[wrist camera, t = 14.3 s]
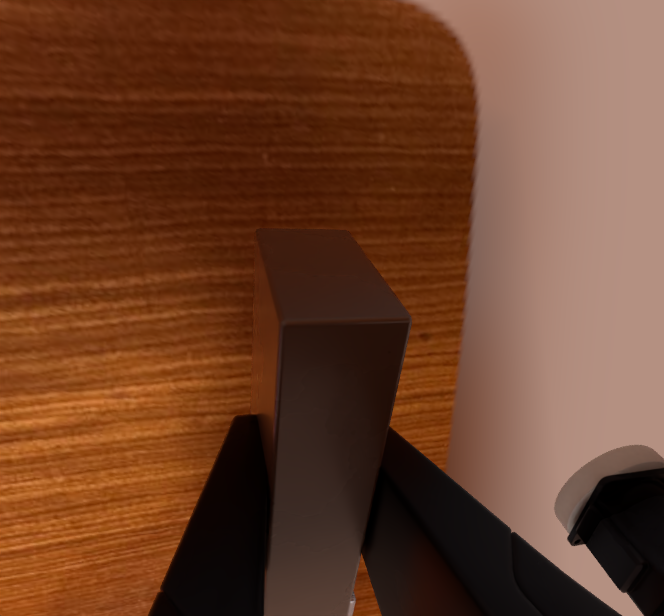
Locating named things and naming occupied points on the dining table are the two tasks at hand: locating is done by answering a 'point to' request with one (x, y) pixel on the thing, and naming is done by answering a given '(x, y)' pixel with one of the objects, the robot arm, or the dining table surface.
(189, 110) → the dining table surface
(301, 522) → the fork
